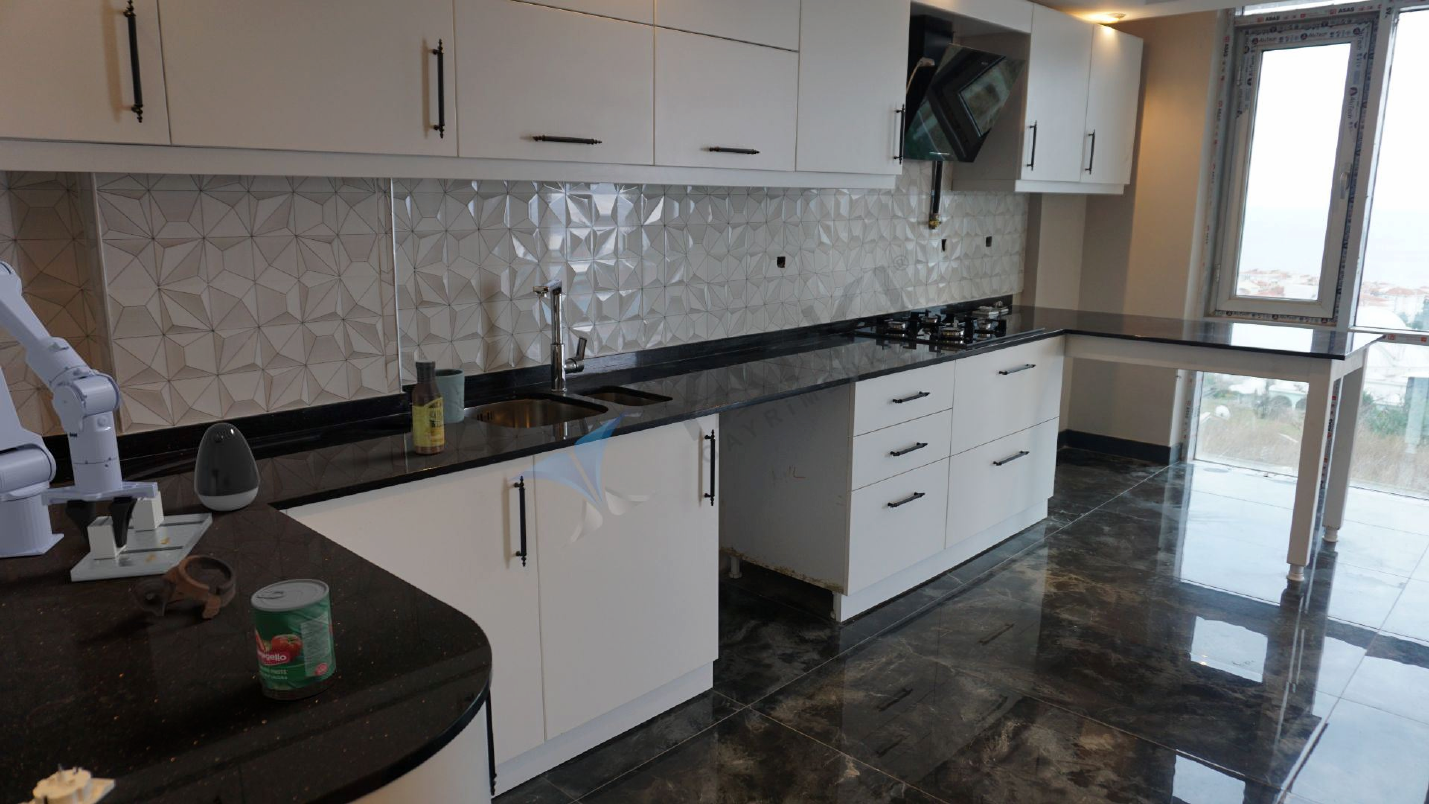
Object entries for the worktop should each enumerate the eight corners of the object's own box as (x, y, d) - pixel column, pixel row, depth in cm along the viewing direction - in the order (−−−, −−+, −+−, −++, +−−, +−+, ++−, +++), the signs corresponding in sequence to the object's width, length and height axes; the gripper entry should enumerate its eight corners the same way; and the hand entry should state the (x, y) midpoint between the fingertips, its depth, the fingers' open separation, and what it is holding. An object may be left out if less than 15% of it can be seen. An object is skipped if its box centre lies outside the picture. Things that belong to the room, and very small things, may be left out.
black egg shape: (190, 518, 157) (179, 432, 153) (205, 499, 167) (196, 418, 163) (255, 513, 159) (246, 428, 156) (267, 495, 169) (258, 414, 166)
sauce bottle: (435, 456, 195) (430, 364, 191) (409, 454, 196) (402, 362, 192) (450, 448, 201) (445, 358, 197) (424, 446, 202) (418, 357, 198)
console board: (71, 581, 131) (70, 570, 131) (125, 528, 152) (124, 518, 152) (173, 572, 134) (172, 561, 134) (212, 522, 155) (211, 512, 155)
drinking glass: (472, 415, 231) (470, 368, 228) (457, 425, 221) (454, 376, 218) (434, 414, 232) (431, 367, 229) (417, 424, 222) (414, 375, 219)
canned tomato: (347, 665, 108) (339, 578, 106) (321, 701, 101) (312, 608, 98) (279, 666, 108) (269, 578, 106) (248, 702, 101) (237, 608, 98)
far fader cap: (134, 531, 146) (129, 500, 145) (143, 521, 150) (139, 491, 149) (155, 529, 147) (151, 499, 146) (163, 520, 151) (159, 490, 150)
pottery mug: (200, 592, 129) (224, 546, 127) (232, 637, 125) (256, 590, 123) (109, 602, 119) (133, 552, 117) (140, 652, 115) (165, 600, 113)
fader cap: (92, 559, 135) (87, 526, 134) (103, 548, 139) (98, 516, 138) (115, 557, 136) (110, 524, 134) (125, 546, 140) (121, 514, 139)
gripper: (25, 469, 128) (40, 561, 131) (142, 463, 132) (154, 551, 135) (47, 456, 135) (61, 543, 138) (157, 450, 139) (168, 535, 142)
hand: (108, 546), depth 137 cm, fingers closed on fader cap, 3 cm apart
